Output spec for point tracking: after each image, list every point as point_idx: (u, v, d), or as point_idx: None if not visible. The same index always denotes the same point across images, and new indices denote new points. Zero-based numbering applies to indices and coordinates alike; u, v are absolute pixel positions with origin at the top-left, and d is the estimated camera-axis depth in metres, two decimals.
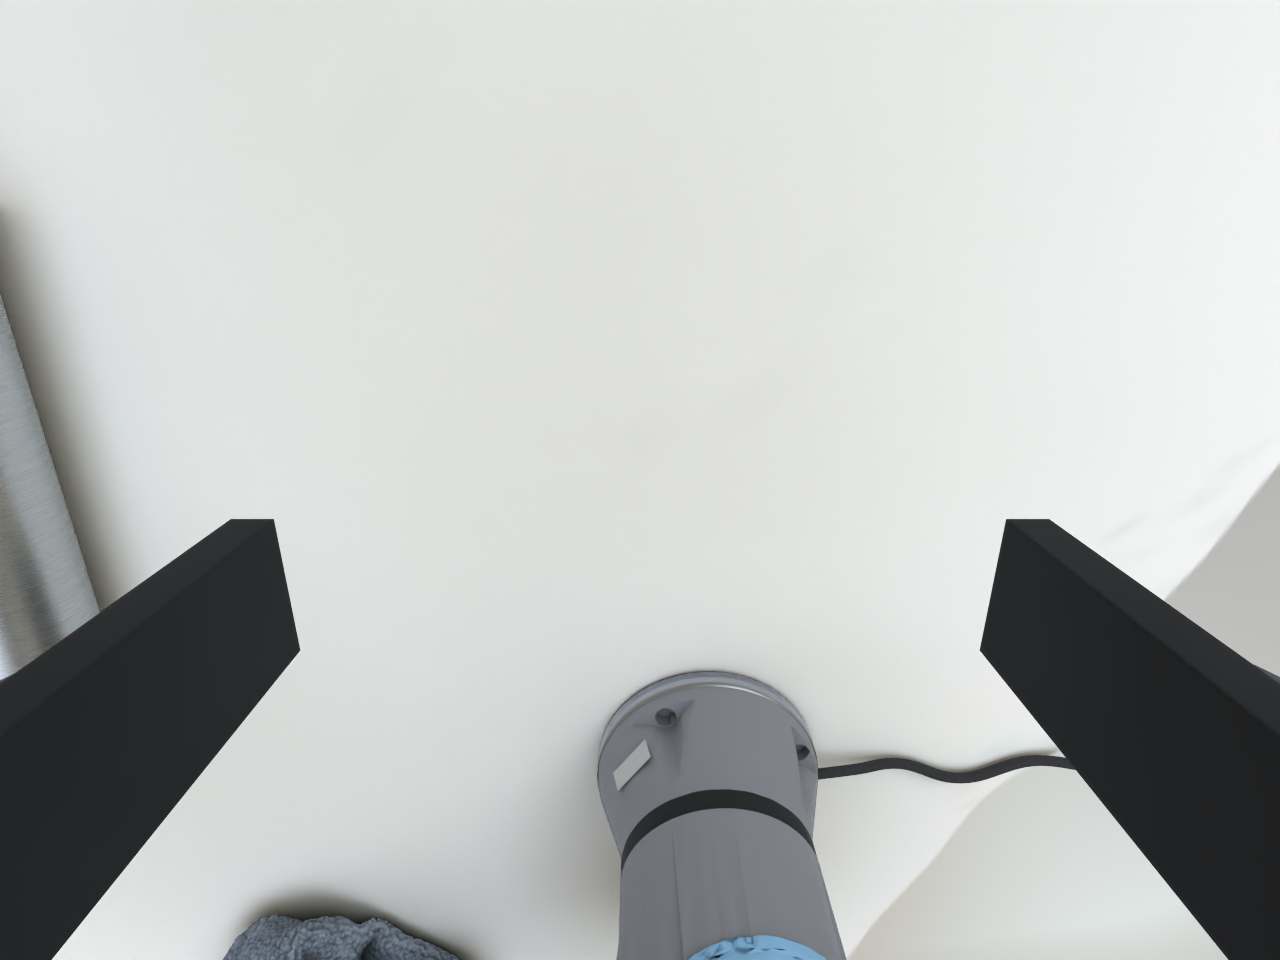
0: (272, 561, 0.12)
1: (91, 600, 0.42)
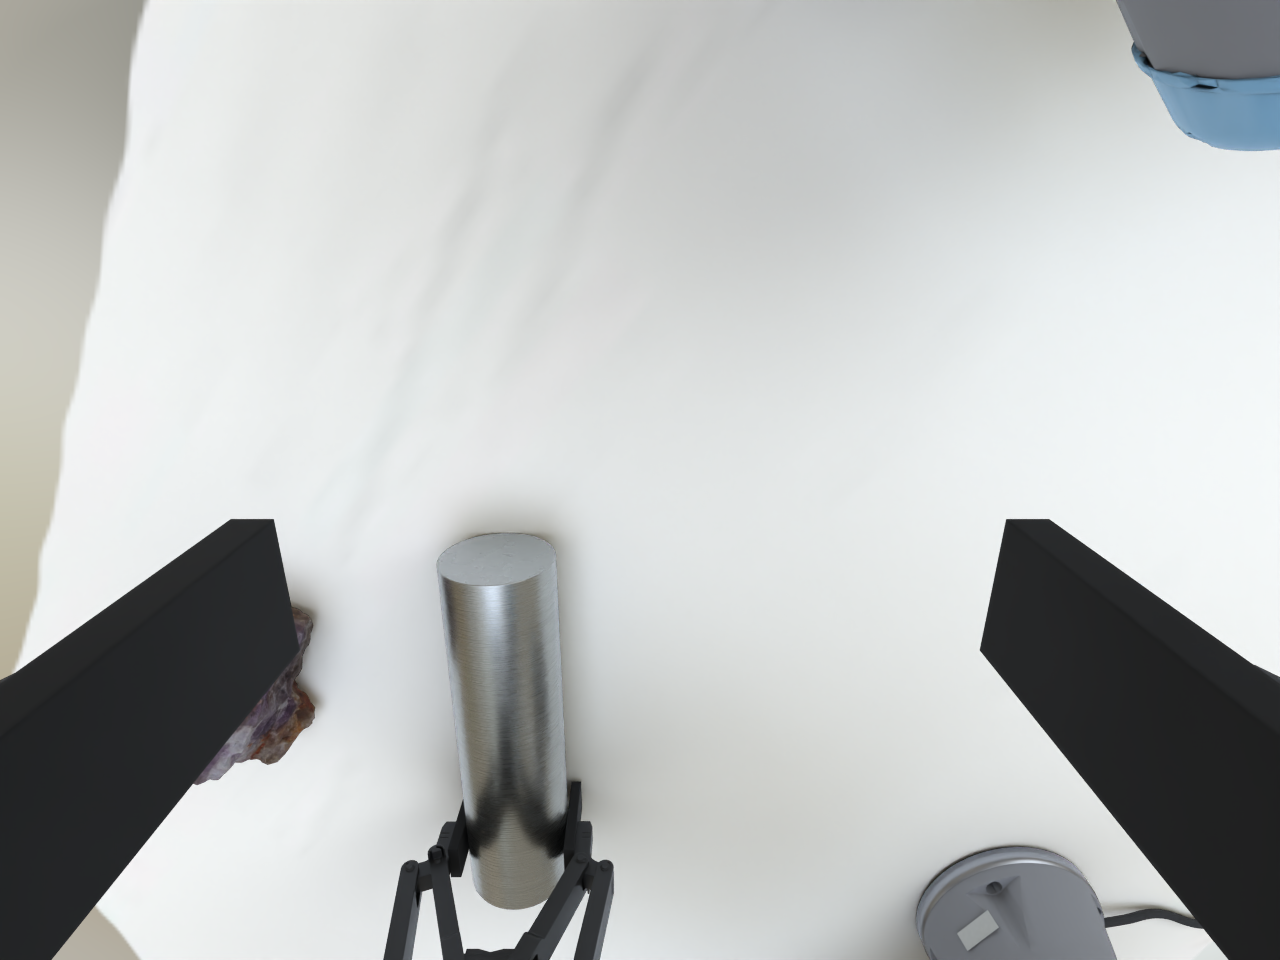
0: (272, 561, 0.12)
1: None
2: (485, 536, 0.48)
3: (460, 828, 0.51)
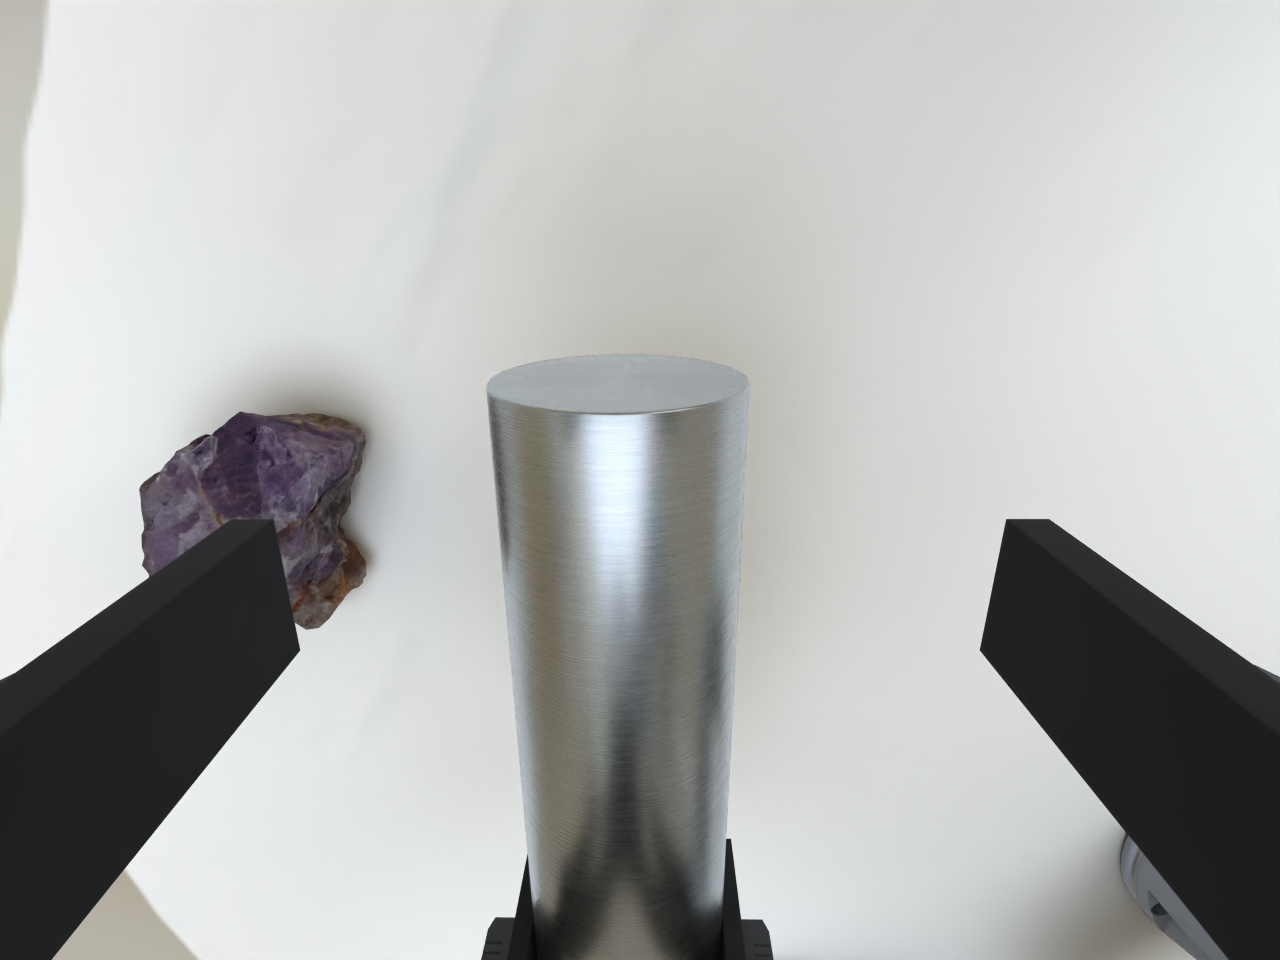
0: (272, 561, 0.12)
1: None
2: (580, 358, 0.23)
3: (523, 936, 0.27)
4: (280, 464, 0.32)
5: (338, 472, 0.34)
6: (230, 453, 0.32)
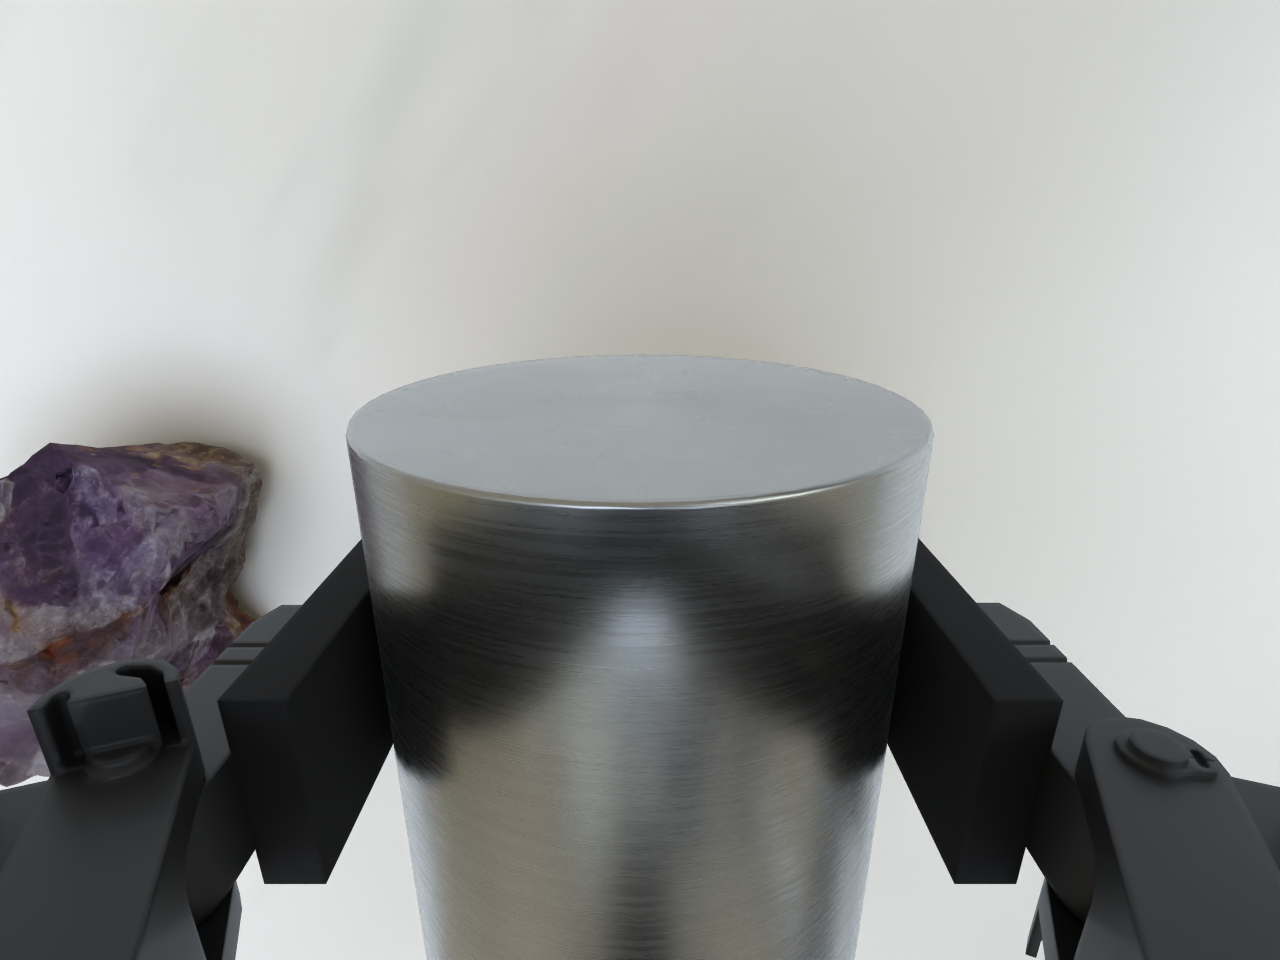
0: None
1: None
2: (561, 360, 0.13)
3: None
4: (107, 523, 0.21)
5: (208, 531, 0.23)
6: (30, 506, 0.21)
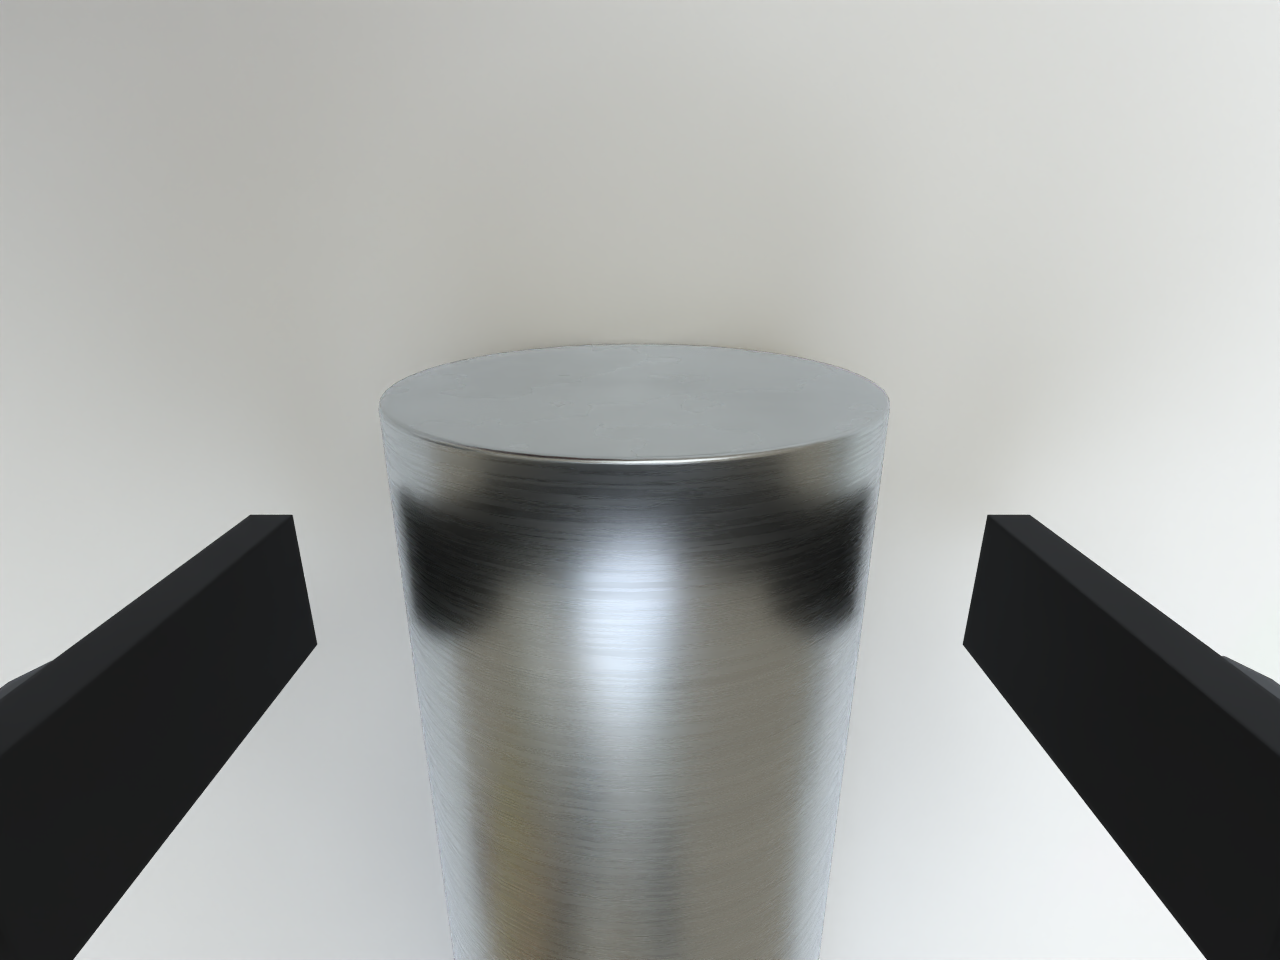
0: (291, 555, 0.12)
1: None
2: (565, 348, 0.14)
3: None
4: None
5: None
6: None
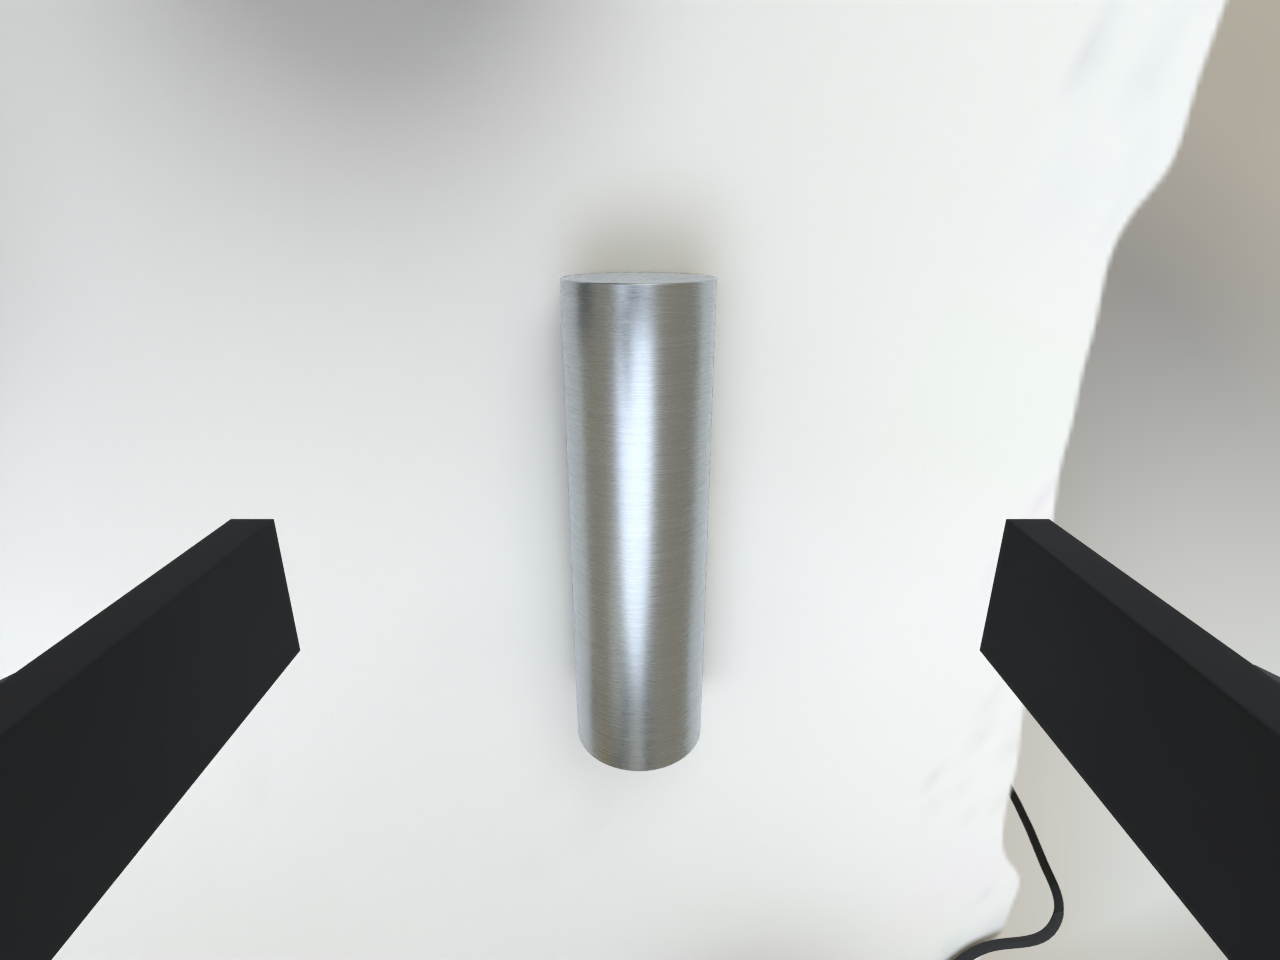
0: (272, 561, 0.12)
1: None
2: (611, 273, 0.37)
3: None
4: None
5: None
6: None
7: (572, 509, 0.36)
